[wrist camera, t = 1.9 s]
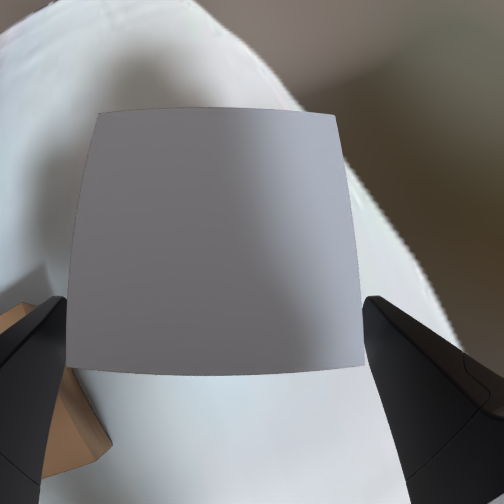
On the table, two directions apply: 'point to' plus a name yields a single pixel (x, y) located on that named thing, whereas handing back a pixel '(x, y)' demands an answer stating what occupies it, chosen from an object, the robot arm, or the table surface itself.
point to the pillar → (214, 246)
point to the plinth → (67, 418)
